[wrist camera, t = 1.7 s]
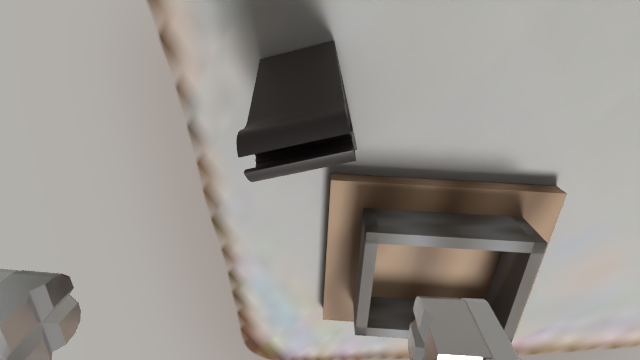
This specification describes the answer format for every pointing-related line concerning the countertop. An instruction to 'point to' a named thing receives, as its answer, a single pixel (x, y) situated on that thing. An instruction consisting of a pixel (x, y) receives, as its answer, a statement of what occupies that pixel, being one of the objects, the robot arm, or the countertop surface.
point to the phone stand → (298, 115)
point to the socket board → (432, 247)
